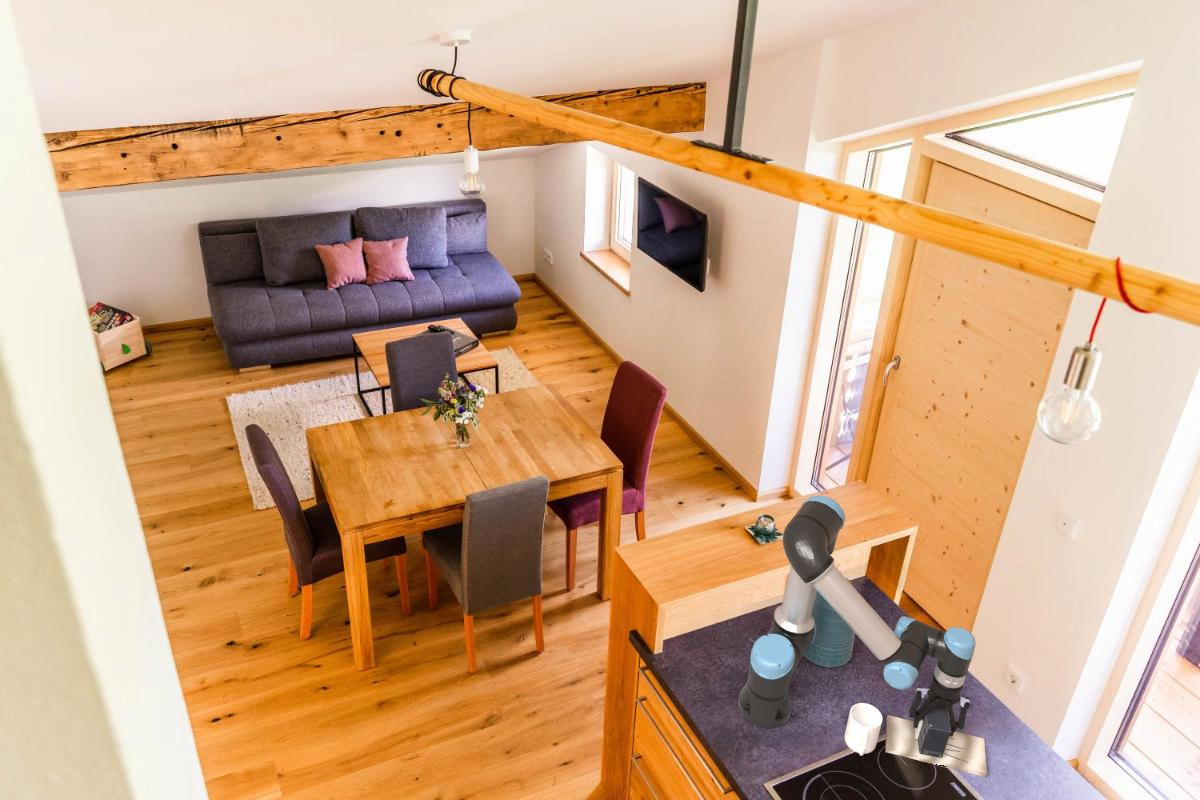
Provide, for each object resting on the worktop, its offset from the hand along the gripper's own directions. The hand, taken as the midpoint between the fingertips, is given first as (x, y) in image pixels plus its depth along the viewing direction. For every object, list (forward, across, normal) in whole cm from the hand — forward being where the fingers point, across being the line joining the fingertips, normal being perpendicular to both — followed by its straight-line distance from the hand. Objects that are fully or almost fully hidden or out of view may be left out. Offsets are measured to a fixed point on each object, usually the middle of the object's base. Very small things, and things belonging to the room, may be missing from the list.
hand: (930, 738), depth 245 cm
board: (+3, +2, 0) cm, 3 cm away
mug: (+3, -18, -7) cm, 20 cm away
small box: (+1, 0, 0) cm, 1 cm away
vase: (+3, -30, +28) cm, 41 cm away
